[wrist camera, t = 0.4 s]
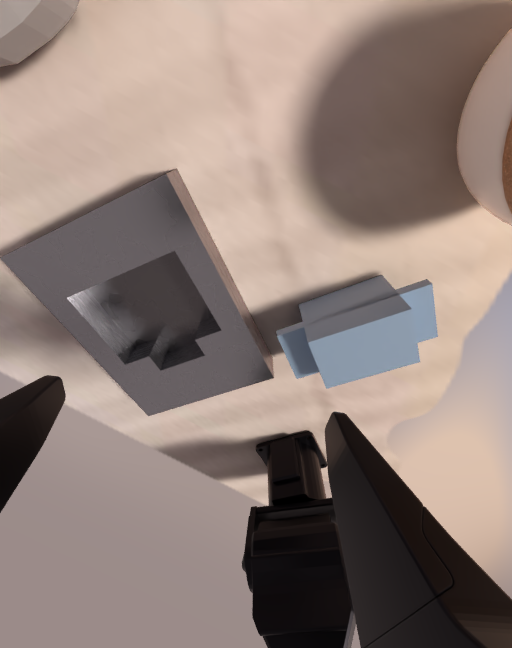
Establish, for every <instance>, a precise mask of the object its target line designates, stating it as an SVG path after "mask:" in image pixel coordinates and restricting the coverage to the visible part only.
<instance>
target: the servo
mask: <svg viewBox="0 0 512 648" xmlns="http://www.w3.org/2000/svg"><path fill="white" fill-rule="evenodd" d="M299 308H300V313H301V317H302V321H303V322H300V323H297V324H294V325H291V326H288V327H285V328H283V329H280V330H277V331H276V333H277V338H278V340H279V342H280V344H281V346H282V348H283V351H284V353H285V355H286V357H287V359H288V361H289V363H290V366H291V368H292V370H293V372H294V374H295V376H296V378H297V379H298V378H302V377H305V376H308V375H312V374H315V373H318V372H320V374H321V376H322V379H323V381H324V384H325V386H326V389H327V388H330V387H334V386H337V385H341V384H344V383H348V382H351V381H355V380H358V379H362V378H365V377H369V376H372V375H376V374H379V373H383V372H386V371H390V370H393V369H397V368H400V367H404V366H407V365H411V364H414V363H418V362H420V358H419V351H418V345H417V343H418V342H422V341H425V340H428V339H432V338H435V337H438V334H437V324H436V315H435V305H434V296H433V286H432V283H431V282H430V281H428V280H427V279H426V280H423V281H420V282H417V283H414V284H411V285H408V286H405V287H403V288H400V289H397V290H395V289H394V288H393V287H392V286H391V285H390V284H389V283H388V281H387V280H386V279H385V278H384V277H383V276H382V275H380V276H377V277H374V278H372V279H369V280H366V281H363V282H360V283H358V284H355V285H352V286H349V287H346V288H343V289H341V290H338V291H335V292H332V293H329V294H327V295H324V296H321V297H318V298H315V299H313V300H310V301H307V302H304V303H301V304H299Z"/></svg>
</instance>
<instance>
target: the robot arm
mask: <svg viewBox="0 0 512 648" xmlns="http://www.w3.org/2000/svg"><path fill="white" fill-rule="evenodd" d="M64 401H65V390H64V386H63V382H62V379H61V378H60V377H57V376H49V375H47V376H44V377H42V378H40V379H38V380H36V381H34V382H32V383H30V384H28V385H26V386H24V387H23V388H21V389H19V390H17V391H15V392H13V393H11V394H9V395H7V396H5V397H3V398H1V399H0V513H1V511H2V509H3V508H4V506H5V505H6V503H7V501H8V500H9V498H10V497H11V495H12V494H13V492H14V490H15V489H16V487H17V486H18V484H19V482H20V481H21V479H22V478H23V476H24V475H25V473H26V471H27V470H28V468H29V467H30V465H31V464H32V462H33V460H34V459H35V457H36V455H37V454H38V452H39V451H40V449H41V447H42V446H43V444H44V442H45V440H46V438H47V436H48V434H49V432H50V430H51V428H52V426H53V424H54V421H55V420H56V418H57V416H58V414H59V412H60V410H61V408H62V406H63V404H64ZM325 441H326V453H327V461H326V459H325V457H324V455H323V453H322V451H321V449H320V447H319V445H318V443H317V441H316V439H315V437H314V435H313V433H312V432H305V433H301V434H297V435H293V436H289V437H285V438H281V439H278V440H274V441H270V442H266V443H262V444H258V445H257V446H256V451H257V453H258V454H259V456H260V457H261V458H262V460H263V461H264V463H265V464H266V465H267V467H268V497H269V506H263V507H257V506H255V507H251V511H250V516H249V520H248V528H247V536H246V544H245V552H244V556H243V561H242V568H243V570H244V571H245V572H246V574H247V581H248V586H249V589H250V591H251V592H252V593H253V620H254V622H255V625H256V628H257V630H258V633H259V634H260V636H263V638H264V640H265V642H266V645H267V647H268V648H351V644H352V640H353V635H354V630H355V625H356V624H357V630H358V635H359V640H360V645H361V648H512V599H511V598H510V597H509V596H508V595H507V594H506V593H505V592H504V591H503V590H502V589H501V588H500V587H499V586H498V585H497V584H496V583H495V582H494V581H493V580H492V579H491V578H490V577H489V576H488V575H487V574H486V572H485V571H484V570H482V568H481V567H480V566H479V565H478V564H477V563H476V562H475V561H474V560H473V559H472V558H471V557H470V556H469V555H468V554H467V553H466V552H465V551H464V550H463V549H462V548H461V546H460V545H458V543H457V542H456V541H455V540H454V539H453V538H452V537H451V536H450V535H449V534H448V533H447V532H446V530H445V529H444V528H443V527H442V526H441V525H440V523H439V522H438V521H437V520H436V519H435V518H434V517H433V516H432V514H431V513H430V512H429V511H428V510H427V508H426V507H424V506H423V504H422V503H421V502H420V500H419V499H418V498H417V497H416V496H415V495H414V493H413V492H412V491H411V490H410V489H409V487H408V486H407V485H406V484H405V483H404V482H403V481H402V479H401V478H400V477H399V476H398V475H397V473H396V472H395V471H394V470H393V469H392V468H391V466H390V465H389V464H388V463H387V462H386V461H385V459H384V458H383V457H382V456H381V455H380V453H379V452H378V451H377V450H376V449H375V448H374V446H373V445H372V444H371V443H370V442H369V441H368V439H367V438H366V437H365V436H364V435H363V434H362V432H361V431H360V430H359V429H358V428H357V427H356V425H355V424H354V423H353V422H352V421H351V420H350V418H349V417H348V416H347V415H346V414H345V413H340V412H333V413H332V414H331V416H330V418H329V421H328V423H327V425H326V428H325ZM327 466H328V476H329V483H330V488H331V493H332V498H327V499H326V494H325V489H324V484H323V479H322V473H321V468H325V467H327Z"/></svg>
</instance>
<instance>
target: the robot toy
mask: <svg viewBox="0 0 512 648" xmlns="http://www.w3.org/2000/svg"><path fill="white" fill-rule="evenodd" d="M78 3H79V0H0V67H1V66H8V65H14V64H18V63H20V62H21V61H22V60H24V59H25V58H26V57H28V56H29V55H31V54H32V53H33V52H35V51H36V50H38V49H39V48H40V47H42V46H43V45H44V44H46V43H47V42H49V41H50V40H51V39H52V38H53V37H54V36H55V35H56V34H57V33H58V32H59V31H60V30H61V29H62V28H63V27H64V26H65V25H66V24H67V23H68V21H69V20H70V18H71V17H72V16H73V14H74V13H75V11H76V9H77V6H78Z"/></svg>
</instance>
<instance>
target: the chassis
mask: <svg viewBox="0 0 512 648" xmlns="http://www.w3.org/2000/svg"><path fill="white" fill-rule="evenodd" d="M0 259H1V260H2V261H3V262H4V263H5V264H6V265H7V266H8V267H9V268H10V269H11V270H12V271H13V272H14V273H15V275H16V276H17V277H18V278H19V279H20V280H21V281H22V282H23V283H24V284H25V285H26V286H27V287H28V288H29V289H30V290H31V292H32V293H33V294H34V295H35V296H36V297H37V298H38V299H39V300H40V301H41V302H42V303H43V304H44V305H45V306H46V308H47V309H48V310H49V311H50V312H51V313H52V314H53V315H54V316H55V317H56V318H57V319H58V320H59V321H60V322H61V324H62V325H63V326H64V327H65V328H66V329H67V330H68V331H69V332H70V333H71V334H72V335H73V336H74V337H75V338H76V339H77V341H78V342H79V343H80V344H81V345H82V346H83V347H84V348H85V349H86V350H87V351H88V352H89V353H90V354H91V355H92V357H93V358H94V359H95V360H96V361H97V362H98V363H99V364H100V365H101V366H102V367H103V368H104V369H105V370H106V371H107V373H108V374H109V375H110V376H111V377H112V378H113V379H114V380H115V381H116V382H117V383H118V384H119V385H120V386H121V387H122V388H123V390H124V391H125V392H126V393H127V394H128V395H129V396H130V397H131V398H132V399H133V400H134V401H135V402H136V403H137V404H138V406H139V407H140V408H141V409H142V410H143V411H144V412H145V413H146V414H147V415H148V416H150V415H154V414H157V413H160V412H164V411H167V410H170V409H173V408H177V407H180V406H183V405H186V404H190V403H193V402H196V401H200V400H203V399H206V398H209V397H213V396H216V395H219V394H223V393H226V392H229V391H232V390H236V389H239V388H242V387H246V386H249V385H252V384H255V383H259V382H262V381H265V380H269V379H272V378H274V373H273V359H272V356H271V354H270V352H269V350H268V348H267V346H266V344H265V342H264V340H263V338H262V336H261V334H260V332H259V330H258V328H257V326H256V324H255V322H254V320H253V318H252V316H251V314H250V313H249V311H248V309H247V307H246V305H245V303H244V301H243V299H242V297H241V295H240V293H239V291H238V289H237V287H236V285H235V283H234V281H233V279H232V277H231V275H230V273H229V271H228V269H227V267H226V265H225V263H224V261H223V259H222V257H221V255H220V253H219V251H218V249H217V247H216V245H215V243H214V241H213V239H212V237H211V235H210V233H209V231H208V229H207V227H206V225H205V223H204V222H203V220H202V218H201V216H200V214H199V212H198V210H197V208H196V206H195V204H194V202H193V200H192V198H191V196H190V194H189V192H188V190H187V188H186V186H185V184H184V182H183V180H182V178H181V176H180V174H179V172H178V170H177V169H175V170H173V171H171V172H168V173H166V174H164V175H162V176H160V177H158V178H156V179H154V180H152V181H150V182H148V183H147V184H145V185H143V186H141V187H139V188H137V189H135V190H133V191H131V192H129V193H127V194H125V195H123V196H121V197H119V198H117V199H115V200H113V201H111V202H109V203H107V204H105V205H103V206H101V207H99V208H97V209H95V210H93V211H91V212H89V213H87V214H85V215H83V216H81V217H79V218H77V219H75V220H73V221H72V222H70V223H68V224H66V225H64V226H62V227H60V228H58V229H56V230H54V231H52V232H50V233H48V234H46V235H44V236H42V237H40V238H38V239H36V240H34V241H32V242H30V243H28V244H26V245H24V246H22V247H20V248H18V249H16V250H14V251H12V252H10V253H8V254H6V255H4V256H2V257H0Z"/></svg>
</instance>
